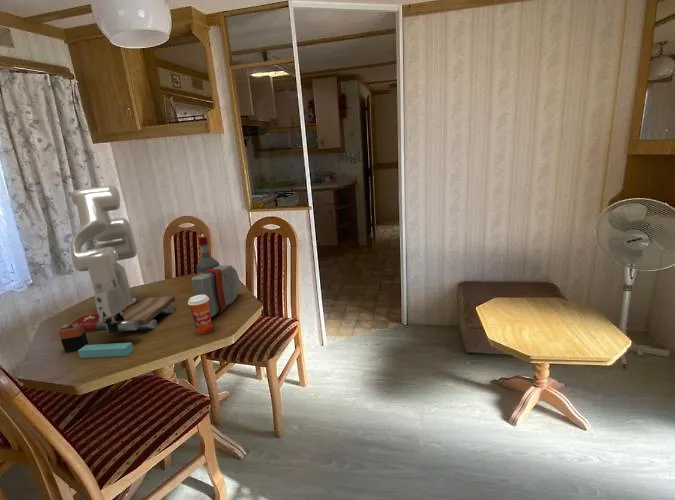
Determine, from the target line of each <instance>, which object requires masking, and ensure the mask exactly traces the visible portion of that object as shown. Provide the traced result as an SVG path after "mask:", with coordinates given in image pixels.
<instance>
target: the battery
mask: <svg viewBox="0 0 675 500" xmlns="http://www.w3.org/2000/svg"><path fill="white" fill-rule="evenodd" d="M57 333H58V335H59V338H60V341H61V344H62V348H63V350H64V352H65V353H71V352H76V351H77V352H78V350H80V349H81V348H82V347H84V346H85V345H90V344H89V339H88V337H87V334H86V333H87V332H85V330H84V326H83V324H82V323H81V324H77V323H76V324H73V325H68V324H64V325H62V326H61V328H60V329H59V330H58V332H57Z"/></svg>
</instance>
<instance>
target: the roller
mask: <svg viewBox="0 0 675 500" xmlns="http://www.w3.org/2000/svg"><path fill="white" fill-rule="evenodd" d="M114 323H116V325H117V329H118V332H126V331H127V332H128V331H138V330H137V329H138V327H139V322H138V321H137V320H127V321H114ZM95 330H96V331H95V332H97V333H106V332H107V333H109V329H108V326H107V324H105V323H104V322H98V323H97V324H96V325H95Z"/></svg>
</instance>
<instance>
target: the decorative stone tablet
mask: <svg viewBox="0 0 675 500" xmlns="http://www.w3.org/2000/svg"><path fill="white" fill-rule="evenodd" d="M191 283H192V289H193V290H192V291H193V296H196V295H206V296H208V298H209V300H208V302H209V309H210V316H211V318H212V317H214V316H215V315H221V314H222V313H223V312H224V311H225V310H227V306H230V305H231V304H233V302H234V301H235V300H236V299H237V297H238V293H239V290H240V277H239V274H238V271H237V270H236V269H235V267H234V266H232V265H220V266H217V267H215V268H213V269H209V270H206V271H204V272H203V273H202V274H200V275H198V274H197V275H195V276H193V277H192V278H191Z"/></svg>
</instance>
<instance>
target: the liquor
mask: <svg viewBox="0 0 675 500" xmlns="http://www.w3.org/2000/svg"><path fill="white" fill-rule="evenodd" d="M198 244H199V247H200V252H201V259H200V260H199V261H198V263H196V272H197V276H198V275H200V274H202V273H203V272H204V271H206V270H209V269H213V268H215V267H217V266H221V265H220V262H219V261H218V260H217V259H215V258H214V257H213V256H211V254H210V250H209V246H208V245H209V244H208V238H207V236H199V237H198Z"/></svg>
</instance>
